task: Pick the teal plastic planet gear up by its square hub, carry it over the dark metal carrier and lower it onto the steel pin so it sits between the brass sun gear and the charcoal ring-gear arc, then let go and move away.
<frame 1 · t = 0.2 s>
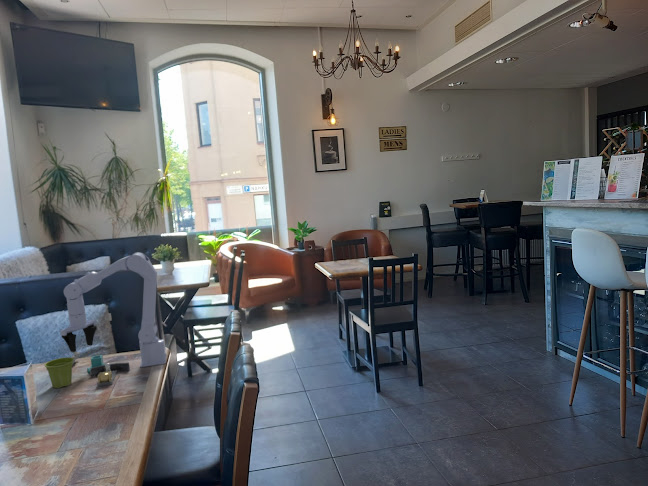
hand: (81, 348, 188), 10 cm above the table, tool pointing down, fingers open, 7 cm apart
plant pot: (62, 385, 177), on the table
carrier: (107, 379, 179), on the table
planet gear: (98, 369, 191), on the table
soldier figure: (70, 365, 199), on the table
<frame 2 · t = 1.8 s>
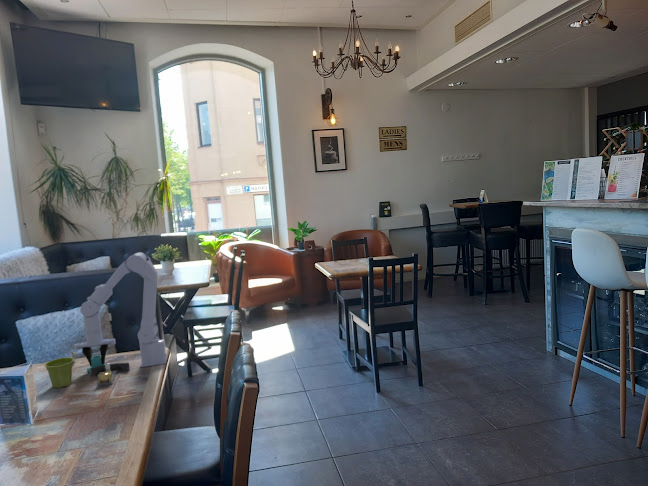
hand: (97, 364, 191), 2 cm above the table, tool pointing down, fingers closed on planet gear, 4 cm apart
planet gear: (98, 369, 191), on the table, touching gripper
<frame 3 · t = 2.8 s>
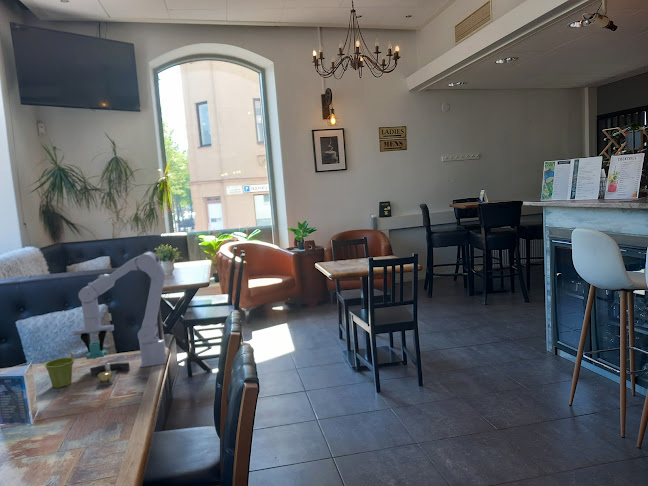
hand: (96, 350, 191), 7 cm above the table, tool pointing down, fingers closed on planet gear, 4 cm apart
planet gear: (96, 355, 191), point 6 cm above the table, touching gripper
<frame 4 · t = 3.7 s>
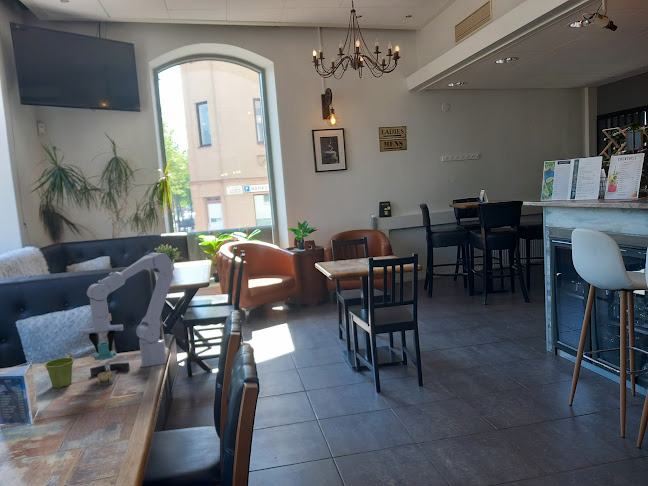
hand: (104, 351, 182), 9 cm above the table, tool pointing down, fingers closed on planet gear, 4 cm apart
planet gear: (105, 356, 183), point 7 cm above the table, touching gripper
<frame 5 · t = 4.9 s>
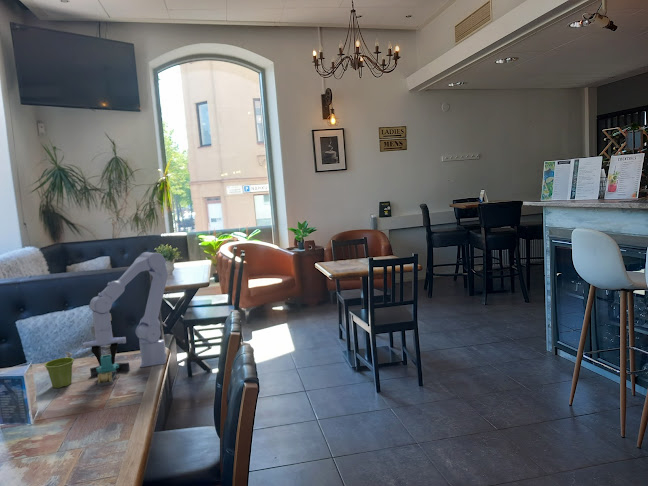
hand: (107, 364, 182), 5 cm above the table, tool pointing down, fingers closed on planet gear, 4 cm apart
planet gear: (107, 369, 182), point 3 cm above the table, touching gripper
when the fingers open (4 cm above the table, at t = 5.5 s): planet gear stays where it is, resting on carrier.
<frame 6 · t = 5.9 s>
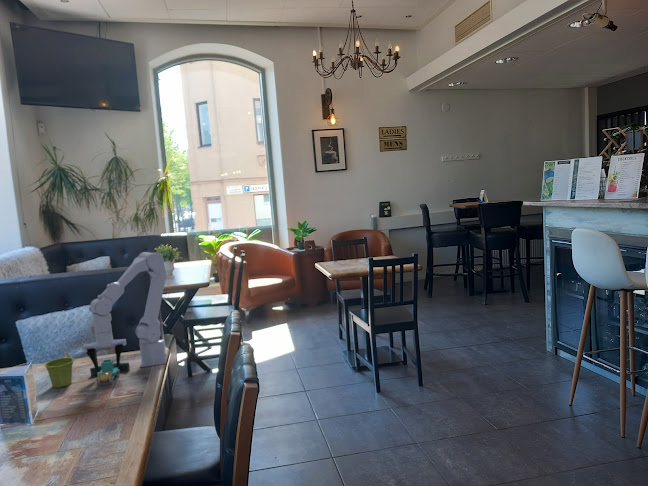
hand: (107, 366, 182), 4 cm above the table, tool pointing down, fingers open, 7 cm apart
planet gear: (108, 373, 182), point 1 cm above the table, touching carrier
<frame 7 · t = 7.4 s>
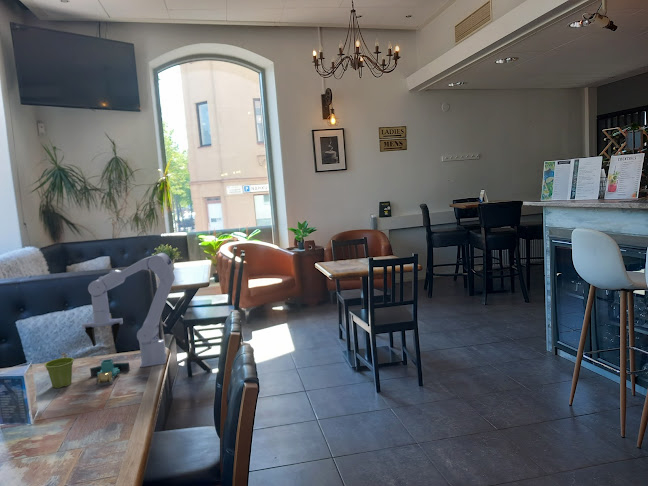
hand: (105, 344, 192), 9 cm above the table, tool pointing down, fingers open, 7 cm apart
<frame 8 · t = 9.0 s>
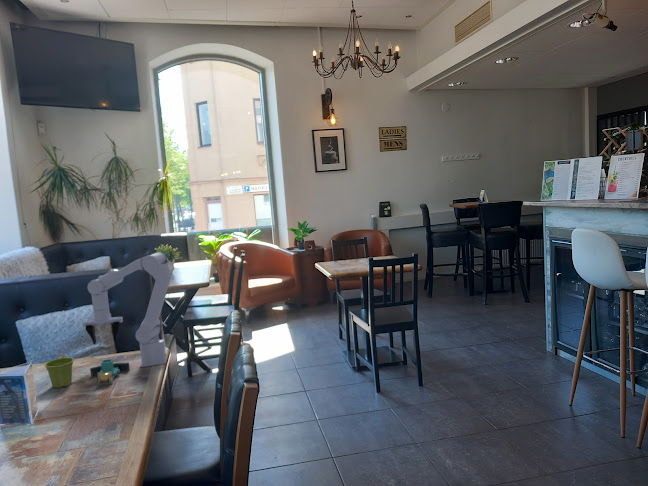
hand: (105, 342, 195), 9 cm above the table, tool pointing down, fingers open, 7 cm apart
at the end: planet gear 0.0 cm from the target spot on the carrier, point 1.0 cm above the carrier's base; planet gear tilted 0°; the gripper is holding nothing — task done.
